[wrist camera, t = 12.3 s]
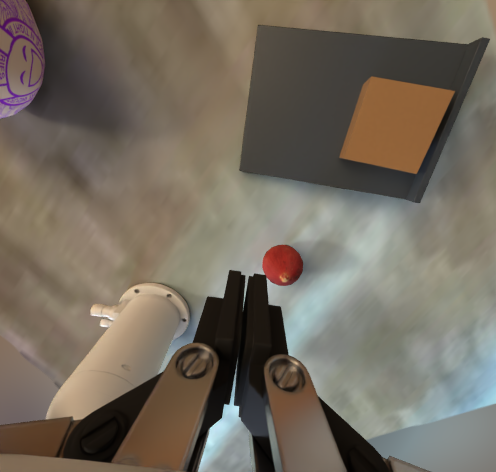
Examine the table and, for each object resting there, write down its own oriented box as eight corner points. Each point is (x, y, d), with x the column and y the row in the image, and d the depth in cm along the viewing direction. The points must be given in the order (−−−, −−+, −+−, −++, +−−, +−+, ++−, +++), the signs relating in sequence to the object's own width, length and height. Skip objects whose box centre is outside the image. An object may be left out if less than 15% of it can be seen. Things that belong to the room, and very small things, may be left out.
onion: (304, 245, 37) (317, 271, 29) (288, 274, 39) (296, 305, 31) (271, 231, 36) (275, 254, 29) (256, 261, 38) (256, 290, 31)
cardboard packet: (335, 156, 29) (347, 159, 25) (359, 83, 26) (377, 72, 22) (399, 170, 29) (420, 174, 26) (429, 99, 26) (459, 91, 23)
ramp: (239, 169, 33) (236, 175, 27) (257, 28, 27) (258, -2, 21) (392, 193, 33) (419, 203, 28) (442, 60, 28) (490, 38, 22)
